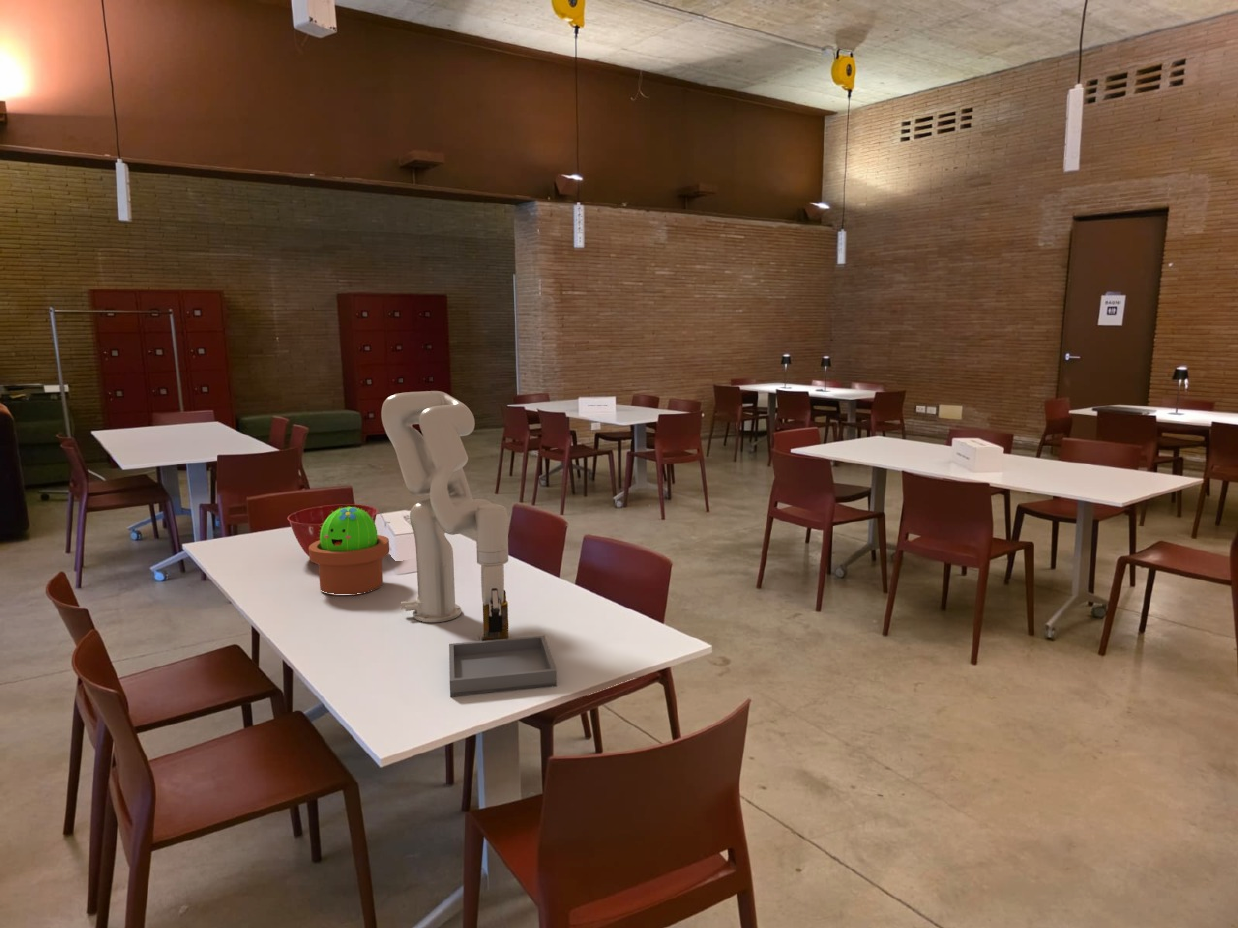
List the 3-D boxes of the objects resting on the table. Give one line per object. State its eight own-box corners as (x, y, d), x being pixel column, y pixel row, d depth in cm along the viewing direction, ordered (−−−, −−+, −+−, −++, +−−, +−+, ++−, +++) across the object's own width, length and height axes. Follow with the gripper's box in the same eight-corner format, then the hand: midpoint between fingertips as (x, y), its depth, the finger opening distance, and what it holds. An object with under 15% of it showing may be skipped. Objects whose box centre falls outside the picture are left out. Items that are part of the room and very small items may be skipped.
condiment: (507, 631, 193) (505, 585, 191) (514, 643, 185) (513, 595, 184) (478, 635, 191) (476, 588, 189) (484, 647, 183) (483, 599, 181)
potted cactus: (334, 575, 240) (329, 497, 237) (401, 577, 238) (397, 498, 234) (298, 598, 219) (291, 512, 215) (372, 600, 217) (367, 514, 213)
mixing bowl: (363, 569, 246) (361, 522, 244) (275, 569, 247) (271, 522, 244) (390, 546, 274) (388, 504, 272) (311, 546, 275) (308, 504, 272)
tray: (450, 696, 158) (449, 680, 157) (449, 658, 177) (449, 643, 176) (556, 685, 162) (556, 670, 162) (544, 649, 182) (544, 635, 181)
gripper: (475, 547, 193) (477, 615, 196) (478, 566, 176) (480, 641, 179) (505, 545, 195) (507, 613, 198) (511, 564, 178) (513, 638, 181)
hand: (494, 625), depth 188 cm, fingers closed on condiment, 6 cm apart
